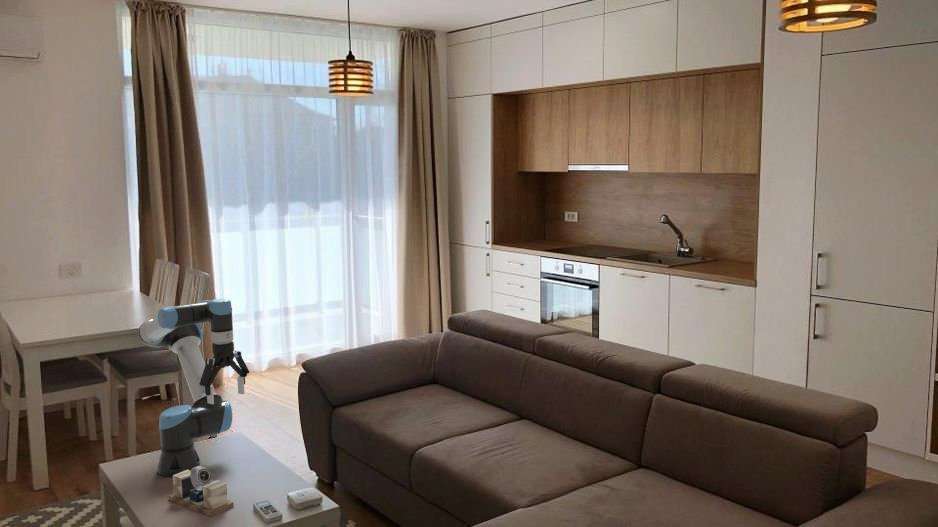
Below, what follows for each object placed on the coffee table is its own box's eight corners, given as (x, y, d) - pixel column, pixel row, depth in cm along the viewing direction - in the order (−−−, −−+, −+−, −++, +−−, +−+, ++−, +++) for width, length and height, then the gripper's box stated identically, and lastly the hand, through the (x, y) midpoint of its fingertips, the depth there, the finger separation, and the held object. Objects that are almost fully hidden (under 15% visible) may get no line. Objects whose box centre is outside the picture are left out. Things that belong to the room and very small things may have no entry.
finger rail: (168, 499, 267) (167, 476, 266) (191, 490, 275) (189, 467, 273) (211, 516, 254) (209, 491, 253) (233, 506, 262) (232, 482, 260)
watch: (200, 504, 260) (198, 472, 258) (187, 498, 265) (184, 467, 263) (215, 498, 264) (213, 467, 263) (201, 492, 269) (199, 462, 268)
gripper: (200, 350, 270) (203, 409, 273) (257, 336, 290) (260, 391, 293) (186, 347, 274) (190, 405, 277) (243, 333, 295) (246, 388, 297)
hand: (226, 398), depth 285 cm, fingers open, 13 cm apart
